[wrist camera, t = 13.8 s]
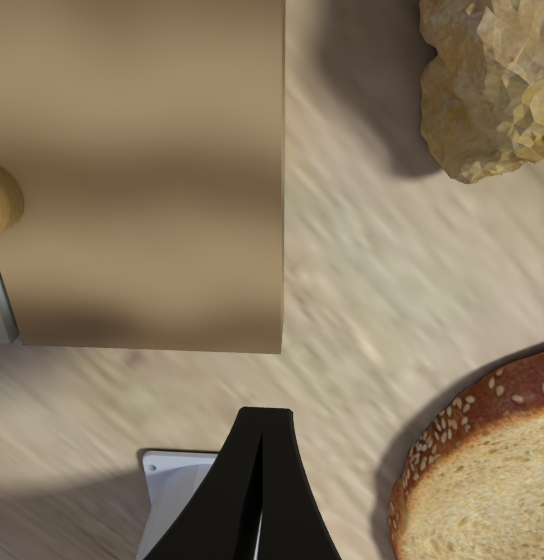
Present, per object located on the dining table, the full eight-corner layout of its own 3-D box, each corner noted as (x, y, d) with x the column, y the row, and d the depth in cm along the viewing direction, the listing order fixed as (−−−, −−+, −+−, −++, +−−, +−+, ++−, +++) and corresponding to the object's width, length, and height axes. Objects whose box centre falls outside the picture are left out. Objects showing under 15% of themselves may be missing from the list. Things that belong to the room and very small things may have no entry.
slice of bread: (422, 591, 34) (435, 653, 30) (308, 418, 26) (308, 475, 23) (715, 528, 29) (767, 594, 25) (671, 293, 21) (736, 343, 18)
